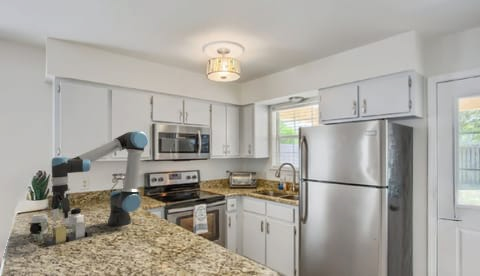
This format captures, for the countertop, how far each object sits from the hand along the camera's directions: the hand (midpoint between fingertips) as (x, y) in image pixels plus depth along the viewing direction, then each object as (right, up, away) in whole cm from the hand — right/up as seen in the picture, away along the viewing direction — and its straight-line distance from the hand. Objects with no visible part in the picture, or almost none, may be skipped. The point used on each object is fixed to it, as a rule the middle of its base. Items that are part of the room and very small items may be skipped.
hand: (60, 222), depth 155 cm
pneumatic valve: (-15, -12, +4) cm, 20 cm away
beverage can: (-23, -12, +15) cm, 30 cm away
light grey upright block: (+6, -11, +7) cm, 14 cm away
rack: (+3, -11, +3) cm, 12 cm away
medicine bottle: (-11, -13, +33) cm, 37 cm away
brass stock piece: (0, -11, -1) cm, 11 cm away
